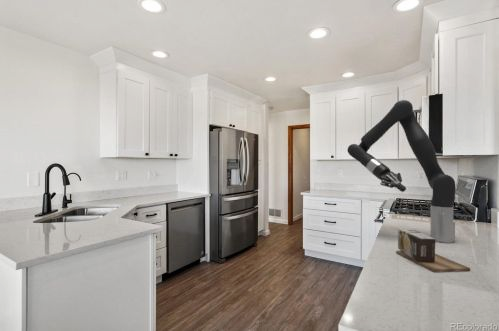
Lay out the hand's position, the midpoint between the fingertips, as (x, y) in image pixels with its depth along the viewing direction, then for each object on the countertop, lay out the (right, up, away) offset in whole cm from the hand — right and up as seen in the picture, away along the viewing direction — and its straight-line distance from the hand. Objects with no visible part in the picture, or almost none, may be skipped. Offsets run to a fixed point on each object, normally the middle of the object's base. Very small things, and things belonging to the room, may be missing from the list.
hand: (404, 190), depth 129 cm
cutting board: (-6, -25, -27) cm, 37 cm away
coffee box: (-8, -20, -15) cm, 26 cm away
